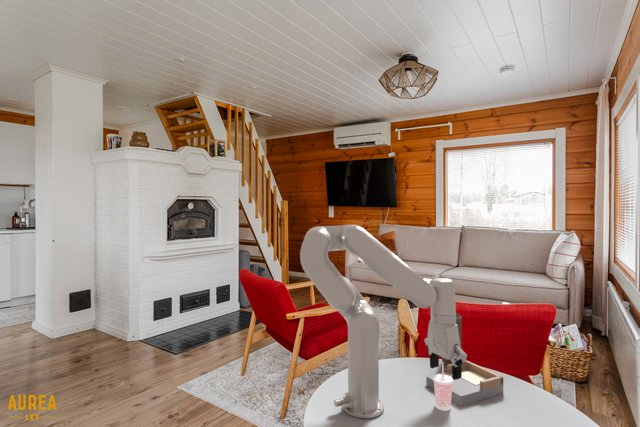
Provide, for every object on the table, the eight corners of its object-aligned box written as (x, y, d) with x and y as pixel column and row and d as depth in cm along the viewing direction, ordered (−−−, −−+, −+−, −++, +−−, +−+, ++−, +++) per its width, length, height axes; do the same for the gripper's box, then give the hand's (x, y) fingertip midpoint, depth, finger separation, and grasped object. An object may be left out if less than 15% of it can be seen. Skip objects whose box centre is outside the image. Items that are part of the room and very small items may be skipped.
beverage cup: (428, 404, 120) (428, 360, 120) (444, 400, 123) (443, 357, 123) (442, 413, 115) (441, 367, 114) (457, 409, 117) (457, 364, 117)
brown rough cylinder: (459, 360, 155) (459, 312, 155) (464, 368, 148) (464, 317, 148) (440, 360, 156) (439, 311, 156) (444, 367, 148) (443, 316, 148)
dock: (461, 405, 119) (460, 388, 119) (426, 384, 134) (426, 369, 134) (503, 393, 127) (503, 376, 127) (466, 374, 142) (466, 360, 142)
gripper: (415, 313, 125) (417, 365, 125) (454, 327, 109) (457, 386, 109) (433, 310, 128) (435, 360, 128) (473, 323, 112) (476, 380, 112)
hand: (445, 372), depth 119 cm, fingers open, 9 cm apart
